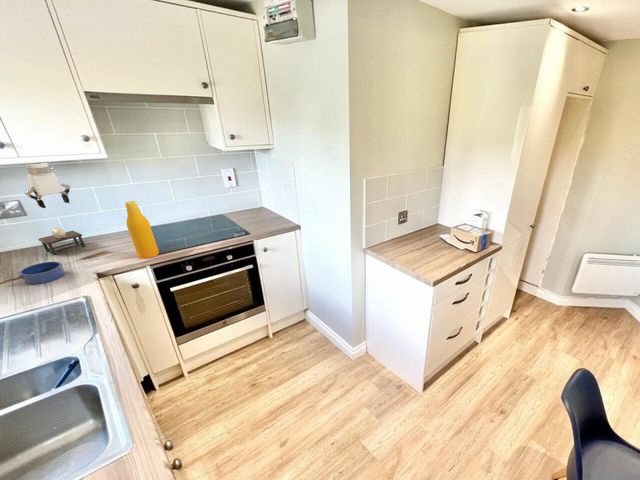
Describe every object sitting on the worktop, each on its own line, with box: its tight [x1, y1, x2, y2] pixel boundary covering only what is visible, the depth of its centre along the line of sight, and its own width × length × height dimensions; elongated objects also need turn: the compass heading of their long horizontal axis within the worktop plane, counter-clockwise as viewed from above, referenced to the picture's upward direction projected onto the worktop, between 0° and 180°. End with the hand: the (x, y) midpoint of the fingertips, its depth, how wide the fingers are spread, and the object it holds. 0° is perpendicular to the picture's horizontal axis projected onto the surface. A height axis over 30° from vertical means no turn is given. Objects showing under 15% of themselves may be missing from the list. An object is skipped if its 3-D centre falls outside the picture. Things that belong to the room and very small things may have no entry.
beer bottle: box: [124, 200, 160, 259], centre depth 165 cm, size 9×9×29 cm
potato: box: [50, 227, 67, 238], centre depth 166 cm, size 4×7×4 cm, turn 62°
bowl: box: [19, 261, 66, 285], centre depth 147 cm, size 13×13×5 cm
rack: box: [37, 230, 86, 256], centre depth 169 cm, size 14×10×9 cm
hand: (55, 205), depth 163 cm, fingers open, 9 cm apart
